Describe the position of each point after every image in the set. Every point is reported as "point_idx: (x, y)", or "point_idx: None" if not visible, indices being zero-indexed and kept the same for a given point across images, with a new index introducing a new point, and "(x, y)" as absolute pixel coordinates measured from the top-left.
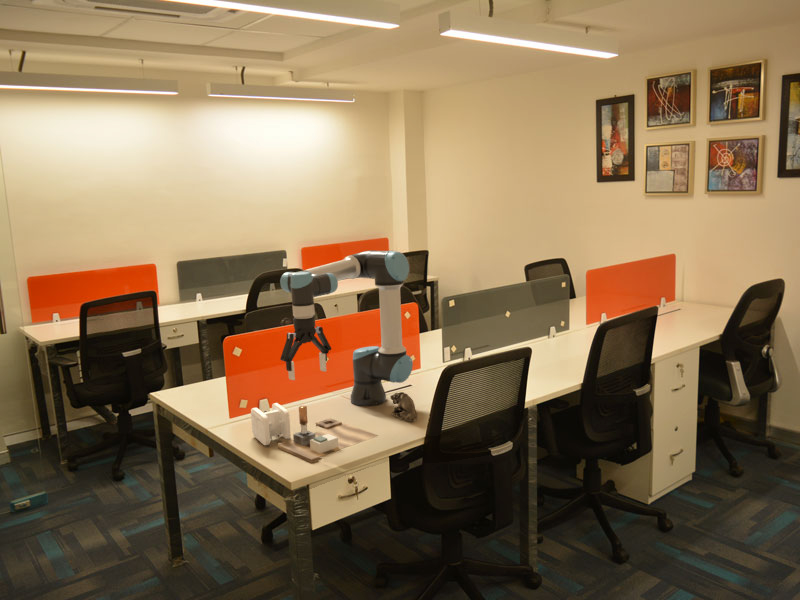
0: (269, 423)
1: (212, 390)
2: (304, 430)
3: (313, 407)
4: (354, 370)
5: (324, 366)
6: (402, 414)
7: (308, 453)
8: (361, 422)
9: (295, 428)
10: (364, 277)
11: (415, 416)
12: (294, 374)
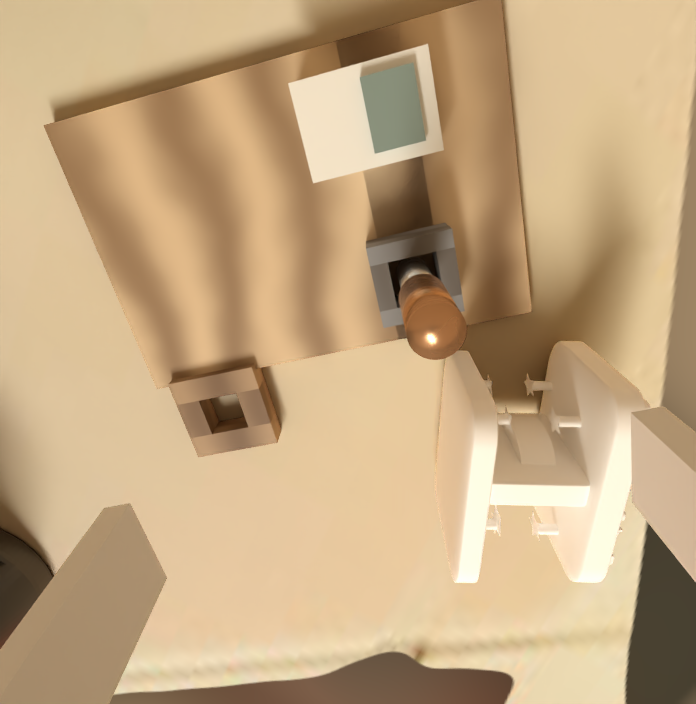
0: (565, 418)
1: None
2: (423, 270)
3: (209, 619)
4: None
5: (90, 560)
6: None
7: (470, 99)
8: (76, 378)
9: (359, 470)
10: None
11: None
12: (687, 459)
